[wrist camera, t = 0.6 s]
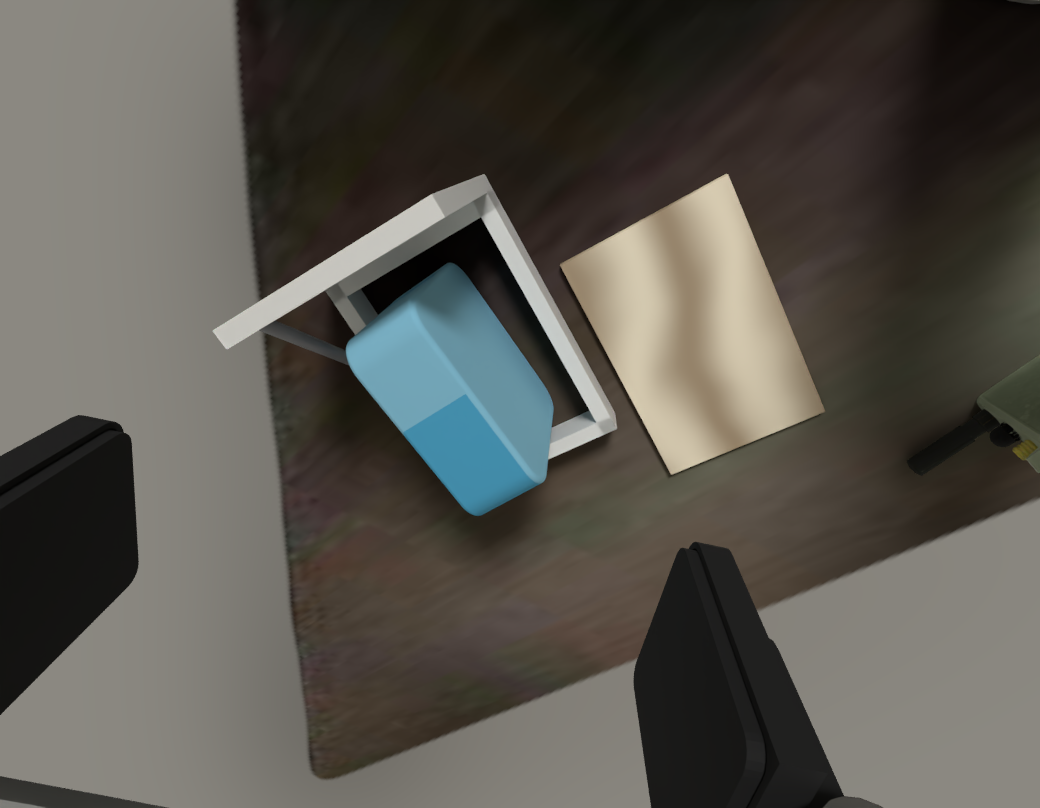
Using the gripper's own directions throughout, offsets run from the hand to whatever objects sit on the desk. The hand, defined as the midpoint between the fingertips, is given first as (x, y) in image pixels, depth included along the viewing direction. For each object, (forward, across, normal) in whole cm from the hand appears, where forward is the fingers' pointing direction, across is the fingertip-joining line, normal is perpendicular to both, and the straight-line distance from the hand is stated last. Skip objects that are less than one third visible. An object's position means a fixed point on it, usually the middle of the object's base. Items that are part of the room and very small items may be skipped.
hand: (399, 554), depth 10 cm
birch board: (+30, -13, +2) cm, 33 cm away
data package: (+31, +1, +6) cm, 32 cm away
